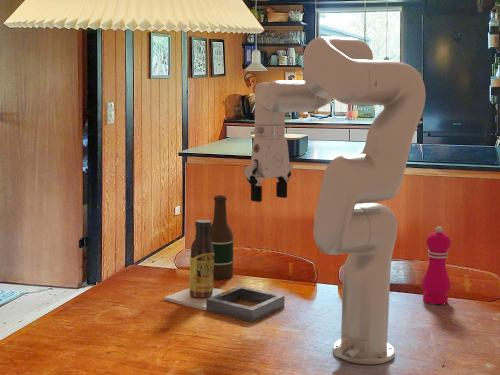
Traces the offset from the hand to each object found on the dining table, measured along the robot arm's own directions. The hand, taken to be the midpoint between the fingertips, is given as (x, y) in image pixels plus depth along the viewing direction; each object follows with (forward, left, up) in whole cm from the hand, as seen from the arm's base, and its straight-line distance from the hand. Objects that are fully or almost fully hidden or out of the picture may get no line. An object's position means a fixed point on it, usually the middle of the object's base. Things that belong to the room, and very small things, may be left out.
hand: (269, 199), depth 167 cm
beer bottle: (+10, +24, -27) cm, 37 cm away
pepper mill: (+26, -35, -27) cm, 52 cm away
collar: (-9, +1, -27) cm, 28 cm away
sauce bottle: (-9, +15, -26) cm, 31 cm away
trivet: (-9, +15, -27) cm, 32 cm away
